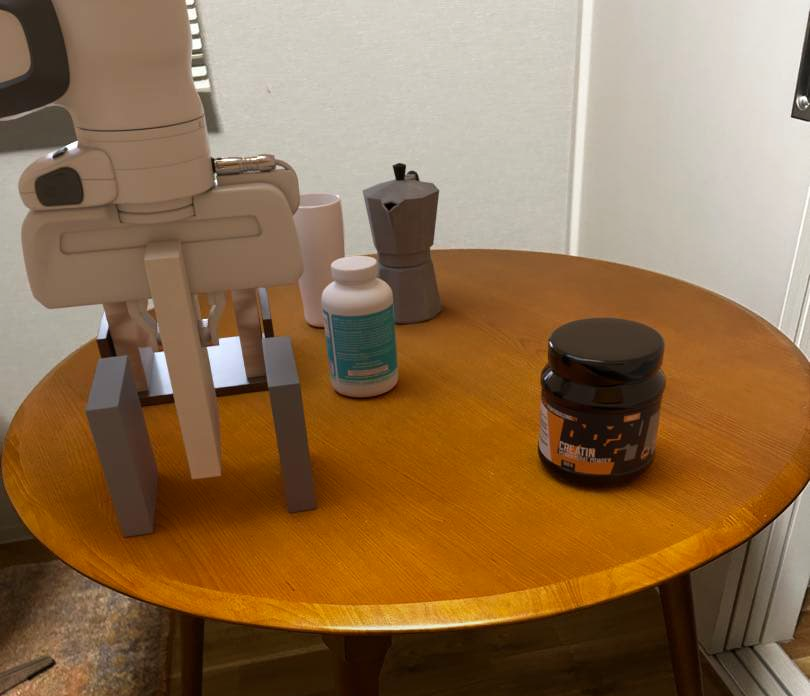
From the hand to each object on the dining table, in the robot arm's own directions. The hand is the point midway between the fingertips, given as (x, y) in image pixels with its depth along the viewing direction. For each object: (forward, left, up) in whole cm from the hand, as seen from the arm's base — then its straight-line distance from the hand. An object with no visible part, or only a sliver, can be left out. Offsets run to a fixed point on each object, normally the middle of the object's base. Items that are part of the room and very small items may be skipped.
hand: (186, 346), depth 68 cm
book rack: (-2, +27, -14) cm, 30 cm away
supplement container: (+34, -4, -14) cm, 37 cm away
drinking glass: (+14, +38, -14) cm, 43 cm away
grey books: (0, 0, -14) cm, 14 cm away
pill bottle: (+16, +18, -14) cm, 28 cm away
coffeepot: (+25, +39, -14) cm, 49 cm away
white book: (0, 0, -9) cm, 9 cm away
